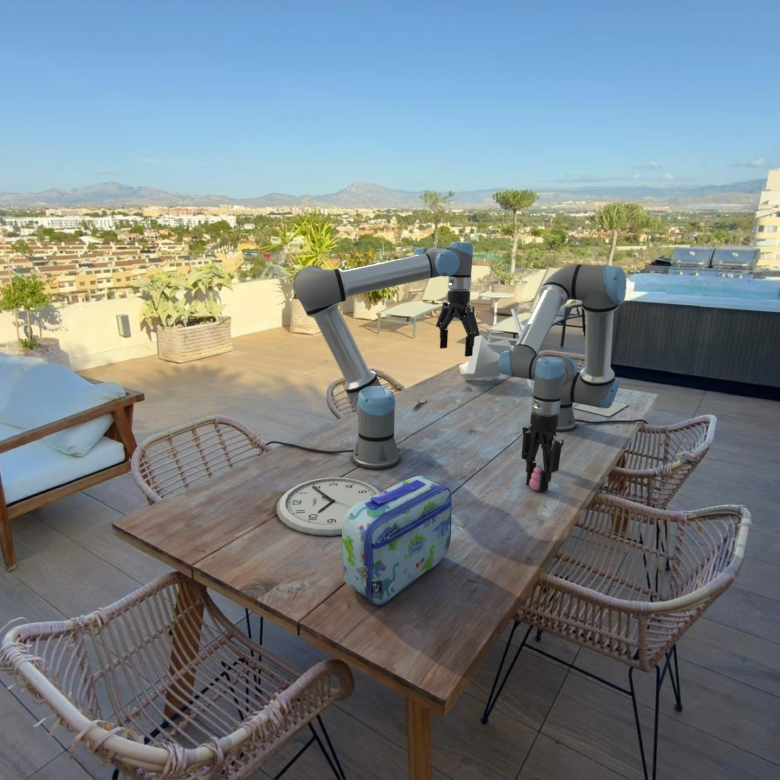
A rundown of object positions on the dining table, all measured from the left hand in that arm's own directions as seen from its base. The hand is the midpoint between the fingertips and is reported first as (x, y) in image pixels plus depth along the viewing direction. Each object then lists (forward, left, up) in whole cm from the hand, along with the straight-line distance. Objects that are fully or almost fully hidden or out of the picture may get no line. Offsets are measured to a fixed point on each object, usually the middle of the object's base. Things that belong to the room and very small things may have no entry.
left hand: (455, 352), depth 181 cm
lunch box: (+10, -82, -32) cm, 88 cm away
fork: (-22, +30, -32) cm, 49 cm away
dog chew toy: (+34, -28, -32) cm, 54 cm away
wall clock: (-17, -60, -32) cm, 70 cm away
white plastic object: (+4, +72, -32) cm, 79 cm away
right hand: (+34, -28, -31) cm, 54 cm away
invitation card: (+51, +60, -32) cm, 85 cm away
